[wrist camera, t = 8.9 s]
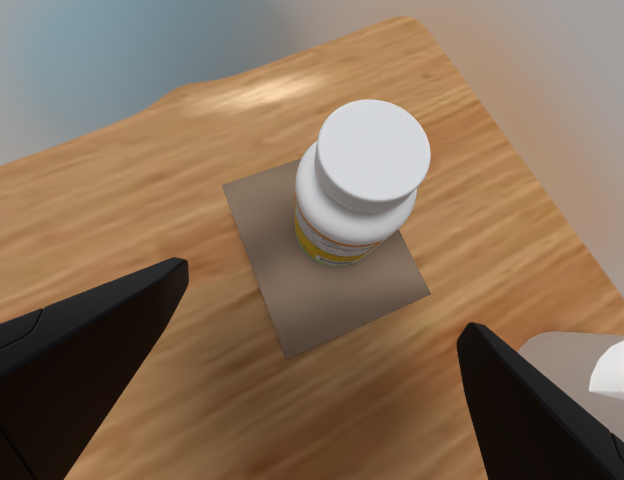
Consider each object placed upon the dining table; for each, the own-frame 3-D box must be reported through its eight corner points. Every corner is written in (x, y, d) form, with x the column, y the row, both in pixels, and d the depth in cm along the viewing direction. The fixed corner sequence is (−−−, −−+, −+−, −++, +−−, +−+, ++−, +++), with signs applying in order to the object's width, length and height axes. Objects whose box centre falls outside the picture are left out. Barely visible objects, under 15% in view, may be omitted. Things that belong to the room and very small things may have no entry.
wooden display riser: (404, 298, 23) (431, 294, 18) (287, 350, 21) (286, 359, 17) (343, 170, 25) (354, 140, 21) (234, 208, 24) (221, 185, 19)
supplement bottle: (342, 177, 20) (385, 58, 11) (390, 238, 19) (483, 165, 10) (278, 218, 19) (265, 126, 10) (326, 285, 18) (362, 253, 9)
